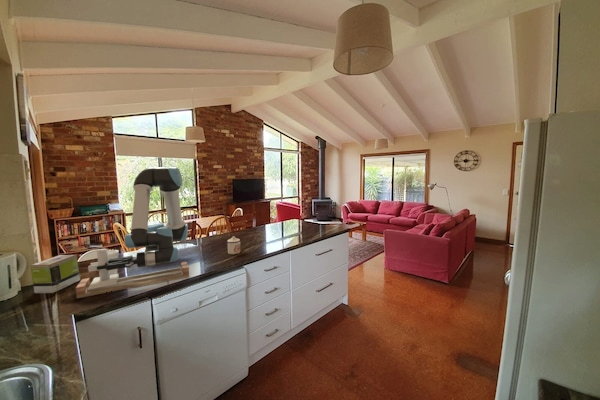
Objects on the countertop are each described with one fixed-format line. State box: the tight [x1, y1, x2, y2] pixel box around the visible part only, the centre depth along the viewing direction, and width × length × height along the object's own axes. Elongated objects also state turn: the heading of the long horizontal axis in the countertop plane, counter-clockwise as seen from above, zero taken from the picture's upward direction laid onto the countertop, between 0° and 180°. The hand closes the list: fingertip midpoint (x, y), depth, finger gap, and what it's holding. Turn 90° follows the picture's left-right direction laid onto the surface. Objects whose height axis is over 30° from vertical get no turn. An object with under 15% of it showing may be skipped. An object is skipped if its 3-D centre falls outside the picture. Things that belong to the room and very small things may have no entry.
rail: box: [75, 261, 190, 299], centre depth 134 cm, size 12×48×5 cm, turn 119°
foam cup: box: [107, 249, 120, 275], centre depth 145 cm, size 10×9×13 cm
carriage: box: [90, 248, 120, 289], centre depth 126 cm, size 10×10×17 cm
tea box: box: [29, 254, 81, 294], centre depth 130 cm, size 15×10×15 cm, turn 178°
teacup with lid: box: [226, 236, 241, 255], centre depth 183 cm, size 12×9×12 cm
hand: (89, 267), depth 124 cm, fingers closed on carriage, 4 cm apart
